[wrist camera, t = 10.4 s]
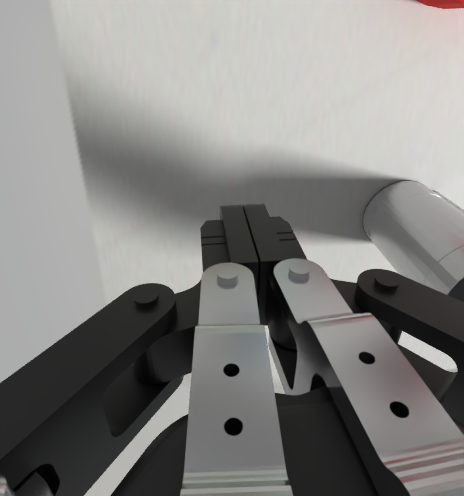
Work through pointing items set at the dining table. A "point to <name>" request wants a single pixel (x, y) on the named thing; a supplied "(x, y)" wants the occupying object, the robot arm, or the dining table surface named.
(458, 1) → the toy clock
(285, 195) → the dining table surface
